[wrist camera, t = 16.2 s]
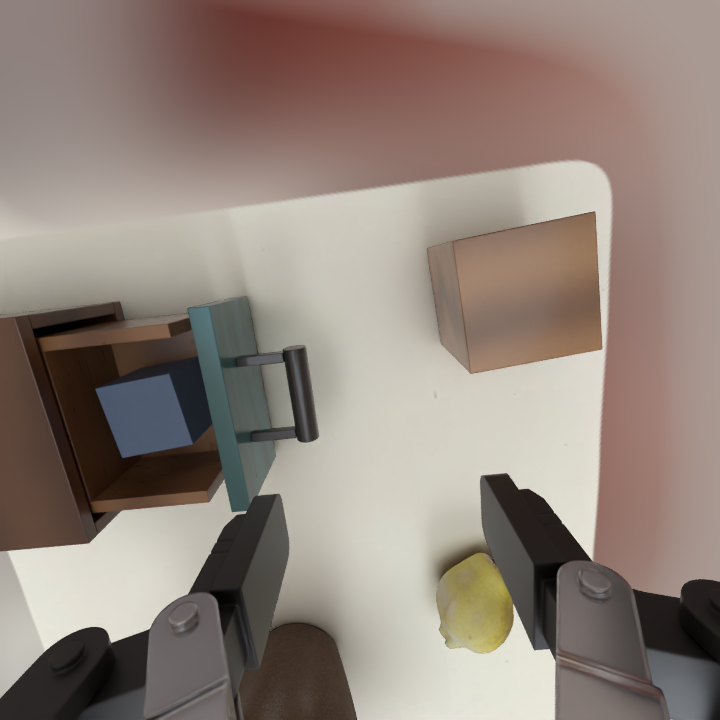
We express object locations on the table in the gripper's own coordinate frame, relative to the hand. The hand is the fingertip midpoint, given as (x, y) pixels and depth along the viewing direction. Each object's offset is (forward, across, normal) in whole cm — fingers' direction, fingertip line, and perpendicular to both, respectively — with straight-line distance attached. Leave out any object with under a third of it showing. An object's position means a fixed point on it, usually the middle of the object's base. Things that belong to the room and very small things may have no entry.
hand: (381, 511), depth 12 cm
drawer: (+17, +11, 0) cm, 20 cm away
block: (+16, +14, 0) cm, 21 cm away
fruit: (+18, -7, +19) cm, 27 cm away
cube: (+18, -8, -5) cm, 20 cm away
